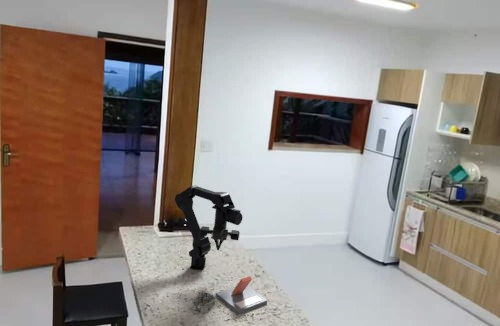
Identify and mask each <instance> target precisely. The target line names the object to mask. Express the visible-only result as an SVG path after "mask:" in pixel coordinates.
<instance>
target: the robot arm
mask: <svg viewBox="0 0 500 326" xmlns="http://www.w3.org/2000/svg"><path fill="white" fill-rule="evenodd" d="M195 197H199V198H202V199H205V200H207V201H210V202H211V203H212V204H213V205H212V206H211V208H212V209H214V210H215V212H214V213H215V214H214V215H215V216H214V223H213V225H214V226H213V228H212V229H210V226H204V225H203V226H200V224H199V221H198V219H197V216H196V214H195V211H194V207H193V206H194V200H193V199H194V198H195ZM174 202H175V204H176V206H177V208H178V209H179V210H180V211H182V213H183V215H184V218H185V220H186V224H187V226H188V228H189V232H190V233H191V236H192V249H191V250H189V251H188V256H189V257H191V261H190V266H189V268H190V269H191V270H192V269H193V270H200V271H204V268H205V267H206V264H207V263H206V261H207V257H206V255H208V254H209V252H210V251H211V248H212V243H211V241H210V238H211V240H213V241H214V243H215V248H216V250H217V251H220V249H221V246H222V244H223V242H224V241H227V238H228V237H230V240H232V241H239V239H240V230H237V229H231V231H229V230H228V229H227V223H230V224H232V225H235V226H239V225H240V224H241V223H242V221H243V214H242V213H241V210H240V209H236V206H235V204H234V202H233V200H232V196H231V195H230V193H229V192H225V191H213V190H210V189H207V188H204V187H200V186H198V185H196V184H195V185H191V186H189V187H187V188H186V189H185V190H183V191H181V192H179V193H177V194H176V195H175V197H174ZM208 235H210V236H211V237H208Z"/></svg>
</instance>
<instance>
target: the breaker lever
mask: <svg viewBox="0 0 500 326" xmlns="http://www.w3.org/2000/svg"><path fill="white" fill-rule="evenodd" d="M252 280H253V278H252V277H251V276H247V277H243V278H241V279H240V281H238V283H237V284H236V285H235V286H234V287H235V289H234V290H233V292H232V293H231V294H232V295H236V294H239V293H242V292H243V291H244V290H245V288H246V287H247V286H248V287H249V284H250V283H251V281H252Z"/></svg>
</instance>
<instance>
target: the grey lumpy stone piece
mask: <svg viewBox="0 0 500 326" xmlns="http://www.w3.org/2000/svg"><path fill="white" fill-rule="evenodd" d="M216 300H217V297H216V295H215V296H214V295H213V294H211V293H209V292H208V291H207V292H206V291H204V290H202V291H201V292H200V293H199V294H197V295H196V296H195V297H194V298H193V299H192V300H191V306H192V307H191V308H192V310H193V311H200V313H201V314H205V313H208V311H209V309H211V308H212V305H215V302H216ZM199 303H202V304H203V305H198V304H199Z"/></svg>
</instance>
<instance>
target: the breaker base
mask: <svg viewBox="0 0 500 326" xmlns="http://www.w3.org/2000/svg"><path fill="white" fill-rule="evenodd" d="M235 287H236V286H233V287H230V288H226V289H224V290H220V291H218V292H215V296H216V298H217V299H219V300H220V301H221V302H222V303H223V304H225V305H226V306H228V307H229V308H230V310H231V309H232V310H233V311H234V312H235V313H236V314H238V315H240V314H244V313H245V312H248V311H251V310H254V309H256V308H258V307H261V306H264V305H266V304H267V303H268V299H267V298H265V297H264V296H263V295H261V294H259V293H258V292H257V291H255V290H254V289H252V288H250V287H249V285H248V286H247V287H246V288H245V290H244V291H243V292H242V293H239V294H236V295H232V294H231V293H232V292H233V290H234V289H235Z"/></svg>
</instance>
